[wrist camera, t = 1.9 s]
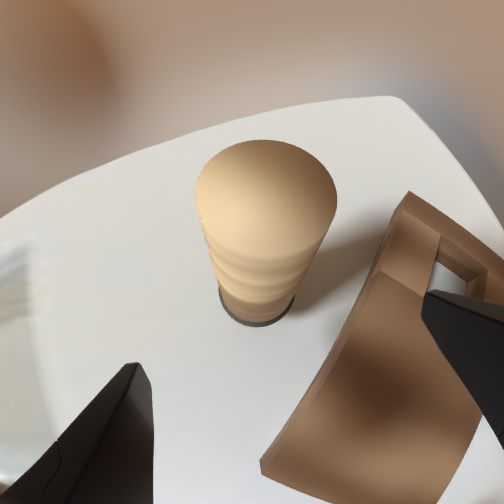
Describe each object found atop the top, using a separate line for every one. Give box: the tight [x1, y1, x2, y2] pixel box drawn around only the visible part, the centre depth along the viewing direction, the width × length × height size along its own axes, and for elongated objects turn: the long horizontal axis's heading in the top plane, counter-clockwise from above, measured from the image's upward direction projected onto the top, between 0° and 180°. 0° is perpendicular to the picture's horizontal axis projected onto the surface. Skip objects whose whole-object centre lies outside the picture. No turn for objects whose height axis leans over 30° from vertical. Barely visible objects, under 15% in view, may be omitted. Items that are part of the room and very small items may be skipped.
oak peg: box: [195, 140, 337, 327], centre depth 14 cm, size 4×4×12 cm
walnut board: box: [260, 191, 504, 504], centre depth 16 cm, size 22×13×3 cm, turn 148°
